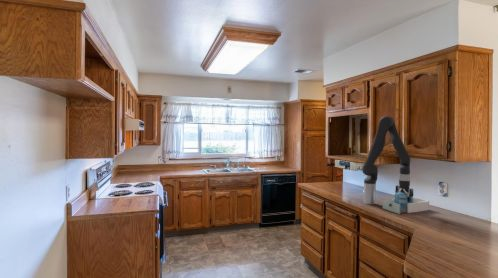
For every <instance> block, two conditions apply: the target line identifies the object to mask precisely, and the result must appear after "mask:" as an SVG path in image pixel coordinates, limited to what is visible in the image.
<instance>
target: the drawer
mask: <svg viewBox="0 0 498 278" xmlns="http://www.w3.org/2000/svg"><path fill="white" fill-rule="evenodd" d="M382 209H384V210H386V211H389V212H392V213H395V214H398V215H400V214H402V213H407V208H402V209H400V204H397V203H394V202H392V200H391V201H390V200H387V199H382Z"/></svg>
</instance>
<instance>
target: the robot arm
mask: <svg viewBox="0 0 498 278" xmlns="http://www.w3.org/2000/svg"><path fill="white" fill-rule="evenodd" d="M377 126H378V127H377V130H376V133H375V136H374V138H373V141H372V143H371V146H370V150H369V151H368V155H367V157H366V160H365V161H364V164H363V167H362V173H363V175H365V176H366V177H365V178H364V180H363V191H362V203H363V204H364V205H365V204H366V205H371V206H373V205H376V198H377V196H376V194H377V192H376V191H377V180H378V173H379V171H378V166H377V165H376V164H375V162H376V161H377V159H378V158H379V157H380V155H382V153H383V152H384V151H383V150H384V147H385V146H386V137H387V134H388V133H389V137H390V140H391V143H392V146H393V148H394V150H395V152H396V154H397V156H398V159H399V163H400V164H399V165H400V166H399V176H398V185H395V191H394V192H395V193H396V192H403V193H406V195H407V196H408V197H407V202H410V201H411V197H414V188H410V186H411V167H410V166H411V156H410V155H409V153H408V151H407V150H406V146H405V145H404V142H403V141H402V139H401V136H400V133H399V132H398V130H397V126H396V123H395V120H394V118H393V116H391V115H384V116H382V117H381V118H380V119H379V122H378V125H377ZM407 192H408V193H407ZM395 193H394V194H395ZM411 194H412V195H411Z"/></svg>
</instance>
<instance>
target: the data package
mask: <svg viewBox="0 0 498 278" xmlns="http://www.w3.org/2000/svg"><path fill="white" fill-rule="evenodd" d="M407 193H408V192H407ZM411 195H412V194H411ZM407 197H408V196H407V195H406V193H403V192H396V193H394V199H395V203H397V204H400V209H402V208H407V203H412V201H413V197H414V196H413V197H411V201H410V202H407Z"/></svg>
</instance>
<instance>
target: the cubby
mask: <svg viewBox="0 0 498 278" xmlns="http://www.w3.org/2000/svg"><path fill="white" fill-rule="evenodd" d="M391 202H394V203H395V198H392V199H391ZM429 210H430V200H426V199H421V198H418V197H414V196H413V201H412V203H407V212H406V213H408V214H411V213H417V212H425V211H429Z"/></svg>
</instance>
